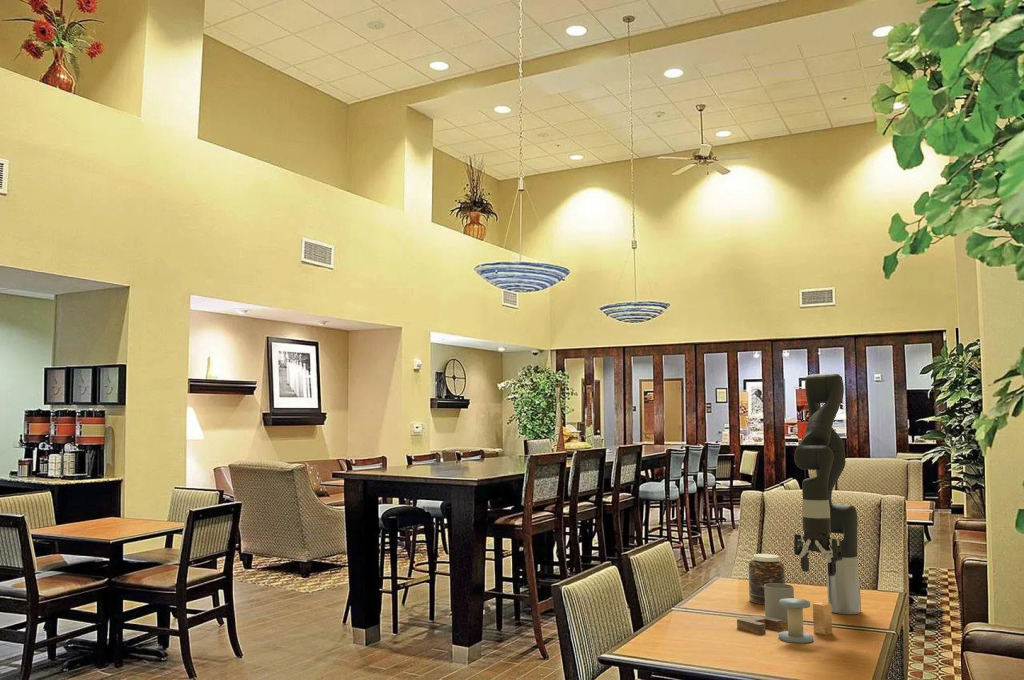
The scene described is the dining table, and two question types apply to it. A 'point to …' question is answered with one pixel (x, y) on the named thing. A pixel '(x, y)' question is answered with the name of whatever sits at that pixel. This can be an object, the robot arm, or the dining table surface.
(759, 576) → the jar
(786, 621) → the cup
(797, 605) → the bobbin
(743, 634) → the dining table surface
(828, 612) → the block
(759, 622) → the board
